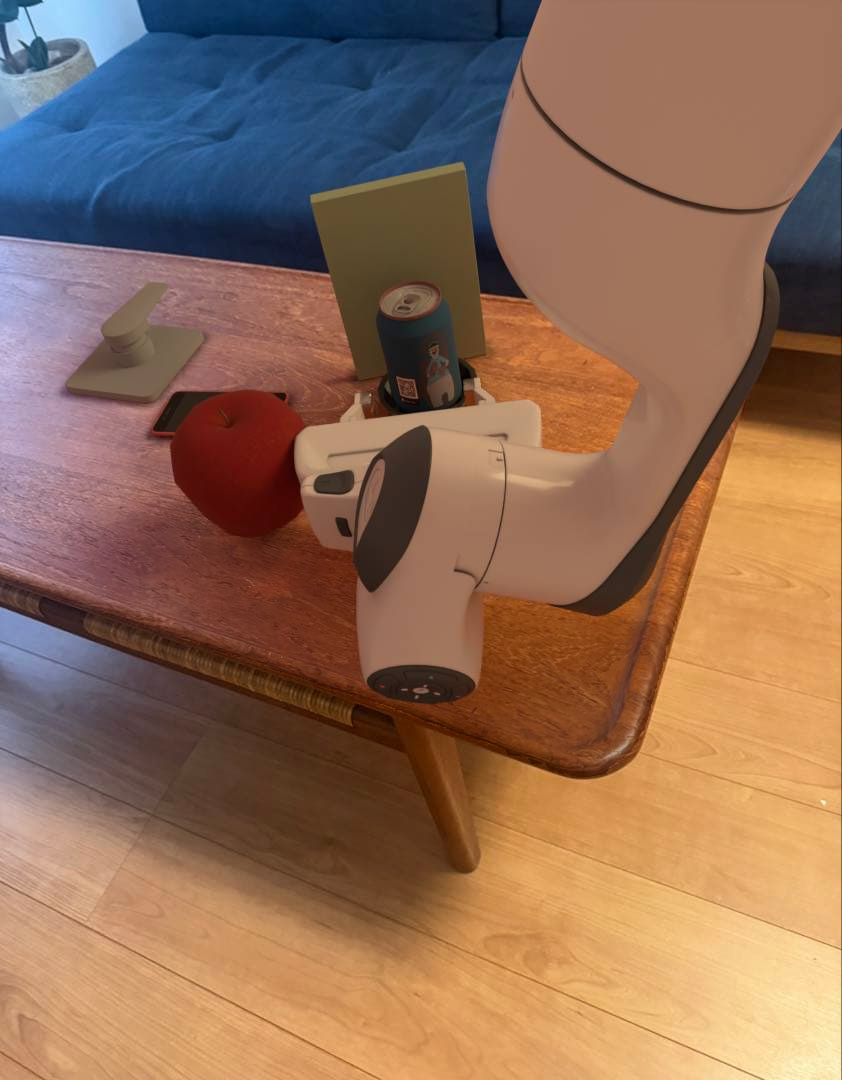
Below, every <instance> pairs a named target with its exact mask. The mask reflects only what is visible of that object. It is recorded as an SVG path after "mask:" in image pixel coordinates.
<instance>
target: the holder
mask: <svg viewBox="0 0 842 1080" xmlns="http://www.w3.org/2000/svg"><path fill="white" fill-rule="evenodd" d="M458 364H459V370H460V377H461V383H462V391H461V394H460V396H459V399H458V400H457V402H456V404H455V405H454V406H453V407H451V408H449V409H452V408H460V407H468V406H466V403H465V396H464V387H463V380H465V379H472V378H478V374H477V371H476V368H474V367H473V366H472V365H471V364H470V363H469V362H468V361H467V360H465V359H461V358H458ZM376 392H377V397H378V404H379V407H380V412H381V415H382V417H389V416H397V415H405V414H406V413H405V412H404V411H402V410H401V409H400V408H399V407H398V406H397V405H396V403H395V401H394V398H393V394H392V390H391V386H390V381H389V377H388V373H386V374H385V375H384V376H382V378H381V379H380V382H379V385H378V387H377V390H376Z"/></svg>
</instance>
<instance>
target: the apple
mask: <svg viewBox="0 0 842 1080" xmlns="http://www.w3.org/2000/svg"><path fill="white" fill-rule="evenodd" d="M231 391H232V390H231ZM268 392H269V391H262V390H258V389H239V390H233V391H232V392H226V393H223V394H220V395H216V396H213V397H210V398H208V399H206V400H204V401H202V402H201V403H199V404H197V405H195V406H194V407H193V408H192V410H191V411H190V412H189V413H188V415H187V416H186V417H185V418H184V420H183V421H182V422H181V424H180V425H179V426H178V428H177V429H176V431H175V434H174V436H172V439H171V442H170V444H169V450H170V461H171V469H172V474H173V475H172V476H173V481H174V483H175V485H176V486H177V487H178V488H179V489H180V491H181V492H182V493H183V494H184V496H185V497H186V498H187V499H188V500H189V501H190V502H191V504H192V505H193V506H194V507H195V508H196V509H197V511H199V512H200V514H202V515H203V516H204V517H205V519H207V520H208V521H210V522H211V523H212V524H214V525H215V526H216V527H218V528H219V529H221V530H223V532H225V533H226V534H228V535H229V536H233V537H241V538H250V537H251V538H252V537H256V536H257V537H258V536H263V535H266V534H269V533H271V532H274V531H277V530H279V529H282V528H284V527H285V526H286V525H288V524H289V523H290V522H292V521H293V520H295V519H297V517H298V516H299V515H300V513H301V512H302V511H304V506H303V502H302V497H301V491H300V489H301V485H300V482H299V479H298V476H297V473H296V470H295V463H294V444H295V438H296V436H297V435H298V434H299V433H300V432H301V431H302V430H303V429H305V428H306V426H305V423H304V421H303V418H302V416H301V415H300V413H298V412H297V411H296V410H295V409H293V408H292V407H291V406H290V405H289V404H286V403H285V402H284V401H282V400H281V399H279V398H278V397H277V396H275V395H274V394H272V393H268Z"/></svg>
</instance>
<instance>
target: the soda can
mask: <svg viewBox="0 0 842 1080" xmlns="http://www.w3.org/2000/svg"><path fill="white" fill-rule="evenodd" d="M376 325H377V329H378V334H379V338H380V342H381V347H382V351H383V355H384V360H385V364H386V368H387V373H388V377H389V381H390V386H391V390H392V394H393V398H394V401H395V403H396V405H397V406H398V407H399V408H400V409H401V410H402V411H404V412H405V413H406V414H412V413H420V412H428V411H436V410H444V409H449V408H451V407H453V406H454V405H455V404H456V402H457V400H458V399H459V396H460V394H461V391H462V383H461V377H460V370H459V364H458V357H457V351H456V344H455V338H454V331H453V325H452V318H451V312H450V307H449V305H448V303H447V302H446V300H445V299H444V298H443V297H442V296H441V292H440V290H439V288H438V287H437V286H435V285H434V284H432V283H429V282H425V281H410V282H404V283H401V284H398V285H395V286H393V287H391V288H389V289H388V290H387V291H386V292H384V294H383V295H382V296H381V298H380V300H379V310H378V314H377V317H376Z"/></svg>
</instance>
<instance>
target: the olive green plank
mask: <svg viewBox="0 0 842 1080" xmlns="http://www.w3.org/2000/svg"><path fill="white" fill-rule="evenodd" d="M468 185H469V184H468V178H467V169H466V166H465V164H464V162H463V161H460V162H455V163H450V164H446V165H441V166H437V167H432V168H427V169H423V170H418V171H414V172H409V173H404V174H400V175H394V176H391V177H386V178H381V179H378V180H373V181H368V182H363V183H358V184H355V185H350V186H344V187H340V188H336V189H332V190H327V191H322V192H318V193H317V192H316V193H313V194H310V195H309V198H310V199H309V201H310V207H311V210H312V213H313V216H314V222H315V225H316V229H317V233H318V236H319V239H320V244H321V247H322V251H323V255H324V257H325V261H326V264H327V268H328V273H329V277H330V280H331V284H332V288H333V291H334V295H335V298H336V302H337V306H338V310H339V314H340V317H341V322H342V325H343V329H344V333H345V335H346V340H347V343H348V346H349V350H350V354H351V358H352V362H353V365H354V368H355V372H356V376H357V380H358V382H360V381H361V382H362V381H365V380H370V379H375V378H380V377H383V376H384V375H385V374H386V373H387V368H386V364H385V360H384V355H383V351H382V347H381V342H380V338H379V334H378V329H377V325H376V317H377V314H378V310H379V300H380V298H381V296H382V295H383V294H384V292H386V291H387V290H388V289H389V288H391V287H393V286H395V285H398V284H401V283H404V282H410V281H425V282H429V283H432V284H434V285H435V286H437V287H438V288H439V290H440V292H441V296H442V297H443V298H444V299H445V300H446V302H447V303H448V305H449V307H450V312H451V318H452V325H453V331H454V338H455V344H456V351H457V357H458V358H461V359H464V360H465V359H469V358H475V357H480V356H484V355H487V354H488V349H487V348H488V347H487V340H486V332H485V324H484V313H483V306H482V298H481V297H482V296H481V289H480V281H479V280H480V279H479V272H478V271H479V269H478V262H477V254H476V246H475V245H476V244H475V237H474V228H473V220H472V211H471V204H470V195H469V186H468Z"/></svg>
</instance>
